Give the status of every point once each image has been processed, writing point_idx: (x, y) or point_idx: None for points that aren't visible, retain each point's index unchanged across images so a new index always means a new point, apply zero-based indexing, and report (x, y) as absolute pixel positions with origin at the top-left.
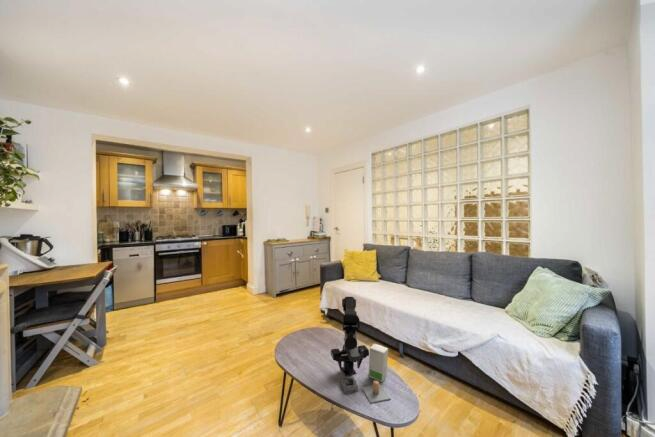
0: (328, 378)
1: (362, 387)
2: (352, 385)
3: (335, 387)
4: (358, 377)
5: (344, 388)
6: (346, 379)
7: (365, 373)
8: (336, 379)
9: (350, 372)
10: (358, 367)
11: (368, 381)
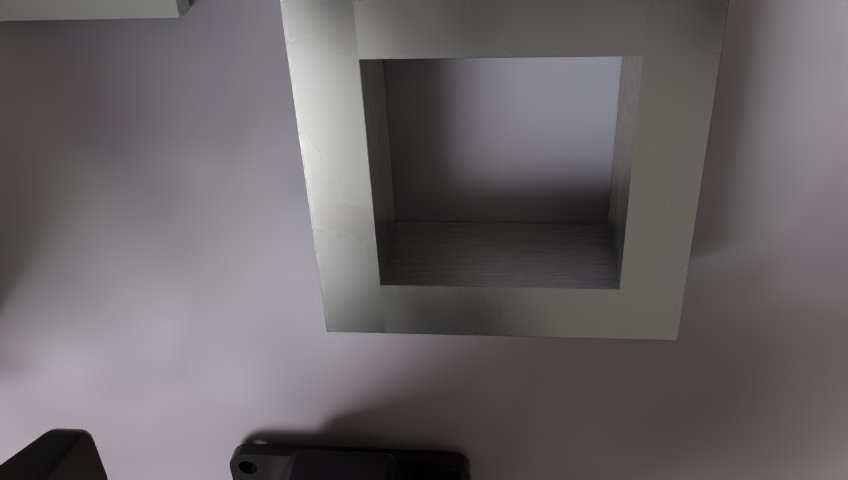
0: (836, 450)
1: (173, 15)
2: (449, 45)
3: (833, 187)
4: (206, 348)
5: (721, 3)
6: (530, 295)
7: (46, 409)
8: (685, 394)
9: (345, 474)
10: (47, 461)
11: (8, 203)
